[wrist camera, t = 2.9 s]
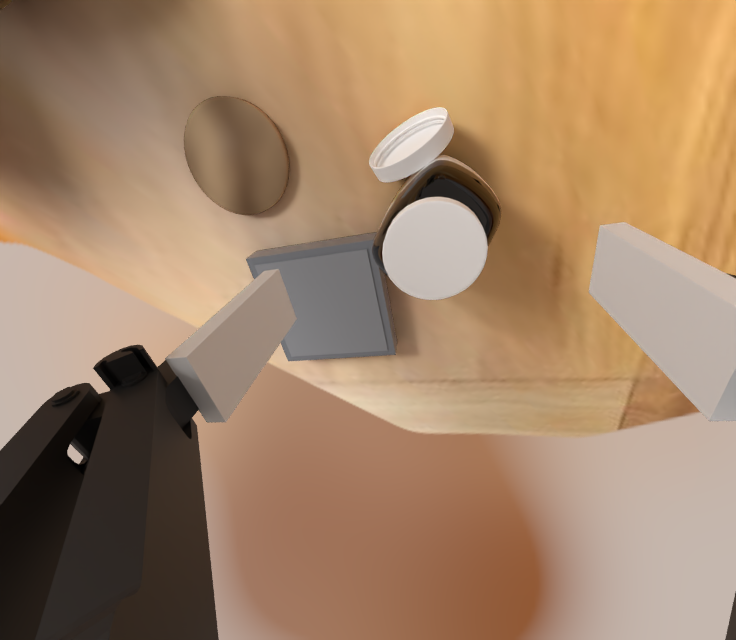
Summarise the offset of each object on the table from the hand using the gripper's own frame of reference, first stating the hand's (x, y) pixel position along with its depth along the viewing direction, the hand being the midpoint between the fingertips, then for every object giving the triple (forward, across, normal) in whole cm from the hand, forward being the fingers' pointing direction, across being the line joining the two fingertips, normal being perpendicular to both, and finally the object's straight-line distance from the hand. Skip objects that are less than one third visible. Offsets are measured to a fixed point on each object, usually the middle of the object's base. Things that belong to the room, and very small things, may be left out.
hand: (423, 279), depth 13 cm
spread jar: (+19, 0, 0) cm, 19 cm away
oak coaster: (+19, -17, +6) cm, 27 cm away
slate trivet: (+19, -12, -10) cm, 25 cm away
